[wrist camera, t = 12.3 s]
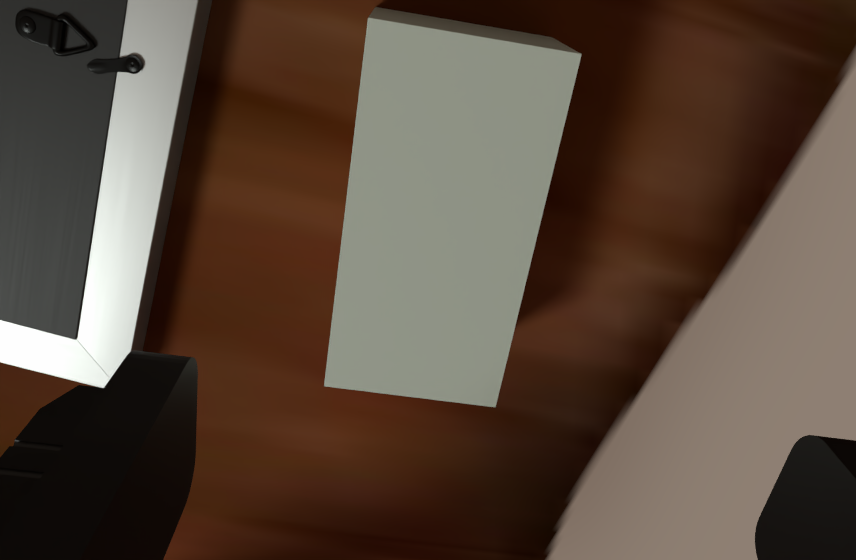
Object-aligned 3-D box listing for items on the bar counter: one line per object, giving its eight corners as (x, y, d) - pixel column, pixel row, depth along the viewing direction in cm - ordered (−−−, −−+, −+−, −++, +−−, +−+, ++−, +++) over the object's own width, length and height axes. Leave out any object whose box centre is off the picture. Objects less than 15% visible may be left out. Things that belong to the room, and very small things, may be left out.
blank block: (482, 339, 24) (495, 407, 20) (337, 320, 24) (324, 386, 20) (550, 36, 20) (581, 54, 16) (376, 6, 19) (367, 17, 16)
